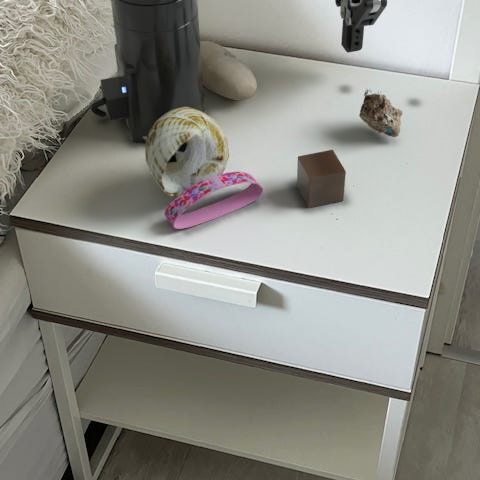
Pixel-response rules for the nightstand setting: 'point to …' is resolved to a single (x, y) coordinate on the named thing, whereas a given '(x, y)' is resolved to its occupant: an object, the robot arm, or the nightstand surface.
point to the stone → (225, 72)
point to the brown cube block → (320, 178)
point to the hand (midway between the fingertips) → (351, 48)
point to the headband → (213, 210)
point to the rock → (380, 114)
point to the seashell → (185, 150)
